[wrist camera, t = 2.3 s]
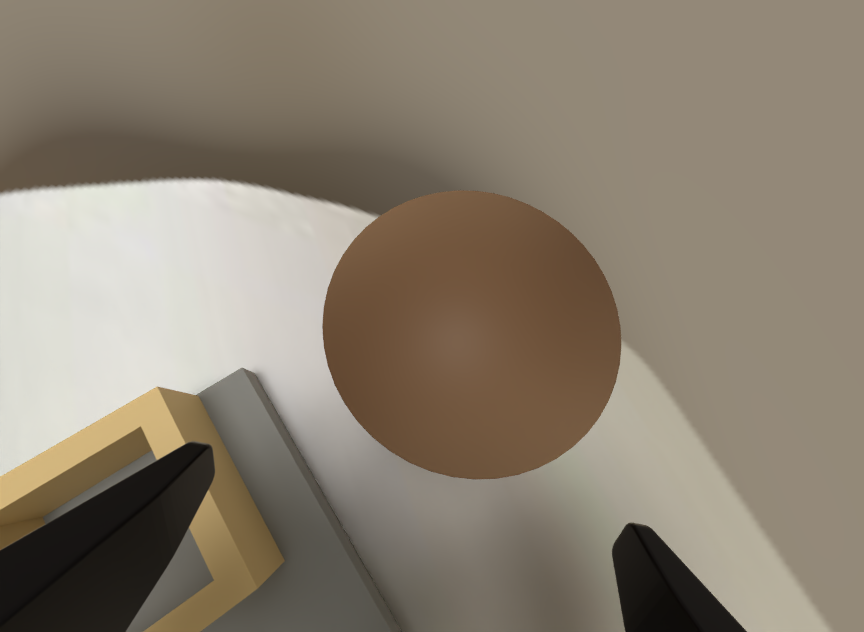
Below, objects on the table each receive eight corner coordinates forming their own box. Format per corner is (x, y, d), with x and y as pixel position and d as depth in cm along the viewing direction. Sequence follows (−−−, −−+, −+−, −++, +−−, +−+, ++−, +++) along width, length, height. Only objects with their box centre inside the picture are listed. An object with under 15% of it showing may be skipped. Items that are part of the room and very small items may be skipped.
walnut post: (485, 416, 19) (681, 356, 6) (411, 472, 18) (440, 557, 5) (434, 345, 20) (499, 150, 7) (362, 393, 19) (266, 276, 6)
